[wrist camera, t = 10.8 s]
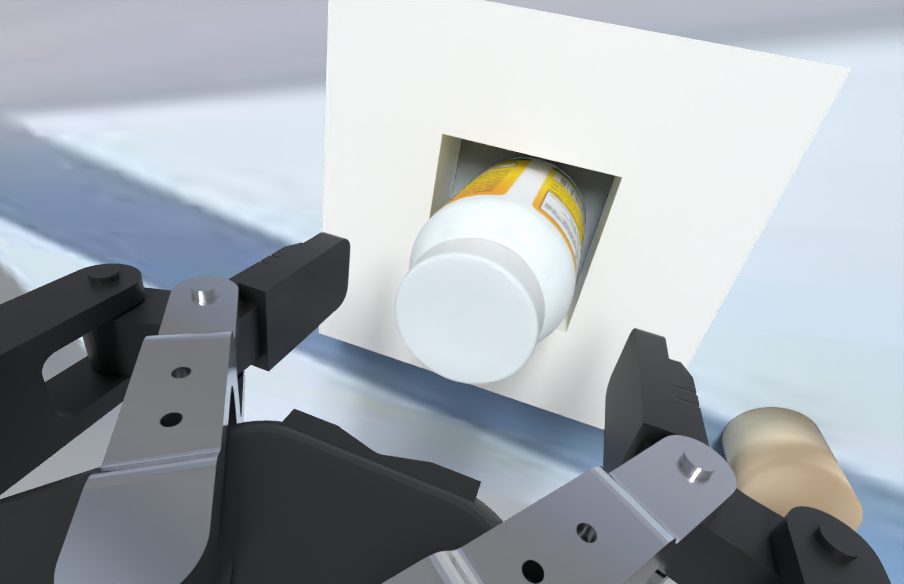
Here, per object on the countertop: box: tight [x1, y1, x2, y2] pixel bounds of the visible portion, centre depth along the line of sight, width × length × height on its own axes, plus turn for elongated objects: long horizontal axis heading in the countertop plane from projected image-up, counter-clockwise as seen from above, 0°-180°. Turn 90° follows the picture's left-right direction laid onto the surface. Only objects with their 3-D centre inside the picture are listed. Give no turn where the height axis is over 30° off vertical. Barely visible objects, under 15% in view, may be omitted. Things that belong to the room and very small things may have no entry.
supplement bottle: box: [395, 157, 586, 384], centre depth 16 cm, size 5×5×10 cm
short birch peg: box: [722, 407, 863, 532], centre depth 20 cm, size 4×4×4 cm
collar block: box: [319, 0, 851, 430], centre depth 19 cm, size 16×15×3 cm
